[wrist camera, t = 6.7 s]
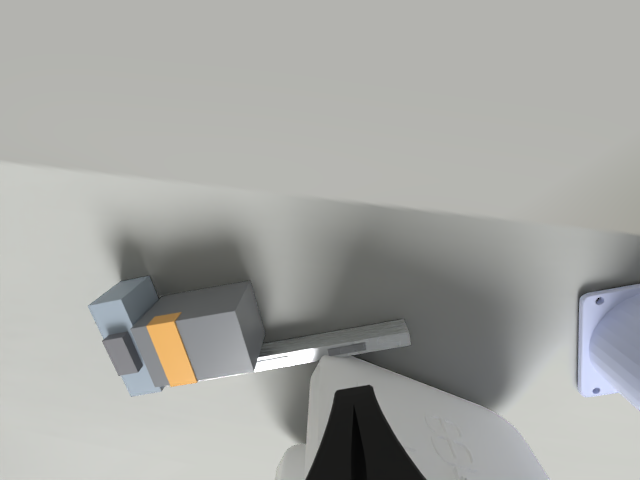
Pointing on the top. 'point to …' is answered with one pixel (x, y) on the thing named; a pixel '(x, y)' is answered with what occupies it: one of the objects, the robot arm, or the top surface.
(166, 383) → the module
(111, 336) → the end clamp
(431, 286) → the top surface
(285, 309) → the top surface
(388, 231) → the top surface
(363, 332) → the rail
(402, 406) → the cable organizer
